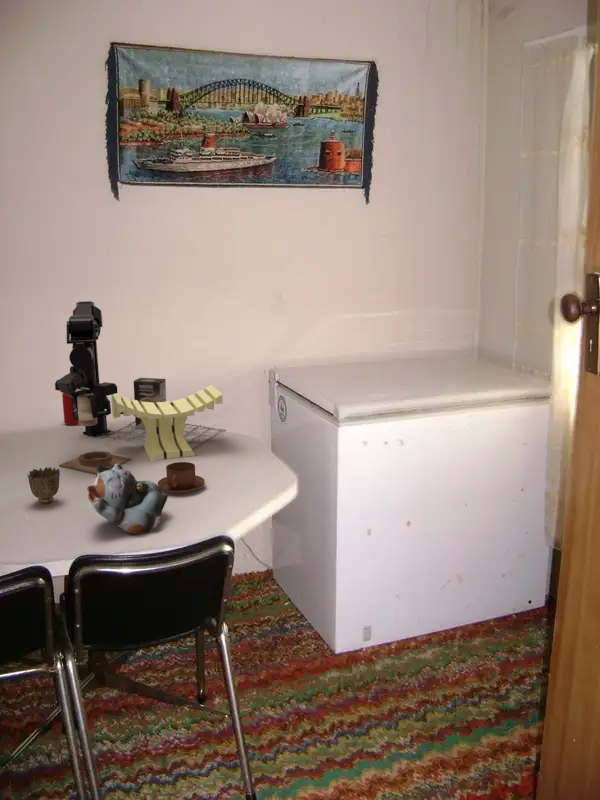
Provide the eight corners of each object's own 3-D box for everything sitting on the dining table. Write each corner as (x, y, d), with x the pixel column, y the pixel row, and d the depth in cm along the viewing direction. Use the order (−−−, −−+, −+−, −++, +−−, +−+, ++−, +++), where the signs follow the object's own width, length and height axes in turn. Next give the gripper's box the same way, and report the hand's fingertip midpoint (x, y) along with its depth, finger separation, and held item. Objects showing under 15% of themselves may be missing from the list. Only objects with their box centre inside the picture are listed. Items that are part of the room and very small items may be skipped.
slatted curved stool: (211, 438, 237) (209, 383, 233) (223, 452, 222) (222, 394, 218) (114, 447, 227) (110, 390, 223) (120, 463, 212) (117, 402, 208)
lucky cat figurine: (152, 538, 163) (113, 484, 157) (104, 553, 168) (64, 501, 162) (177, 491, 177) (142, 440, 171) (132, 506, 182) (96, 456, 176)
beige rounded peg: (88, 420, 214) (86, 393, 212) (101, 422, 212) (99, 395, 210) (74, 424, 210) (72, 396, 208) (88, 427, 207) (86, 398, 206)
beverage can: (81, 426, 250) (79, 391, 248) (61, 426, 251) (58, 391, 248) (87, 420, 257) (85, 386, 254) (68, 420, 257) (65, 386, 254)
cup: (37, 496, 187) (34, 466, 185) (66, 497, 187) (63, 466, 185) (25, 508, 180) (22, 476, 178) (55, 508, 180) (53, 476, 178)
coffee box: (135, 428, 247) (132, 381, 243) (142, 423, 253) (139, 377, 249) (161, 430, 246) (159, 382, 242) (168, 424, 252) (165, 377, 248)
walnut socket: (95, 453, 222) (94, 446, 221) (131, 460, 215) (130, 453, 214) (59, 466, 210) (58, 459, 209) (96, 474, 203) (95, 467, 203)
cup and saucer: (206, 496, 188) (205, 472, 187) (157, 498, 186) (156, 475, 185) (204, 480, 200) (203, 457, 198) (158, 482, 198) (157, 460, 196)
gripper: (37, 363, 205) (42, 419, 208) (87, 369, 196) (91, 427, 199) (68, 357, 214) (72, 410, 218) (117, 363, 205) (120, 418, 209)
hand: (87, 416), depth 210 cm, fingers closed on beige rounded peg, 5 cm apart
